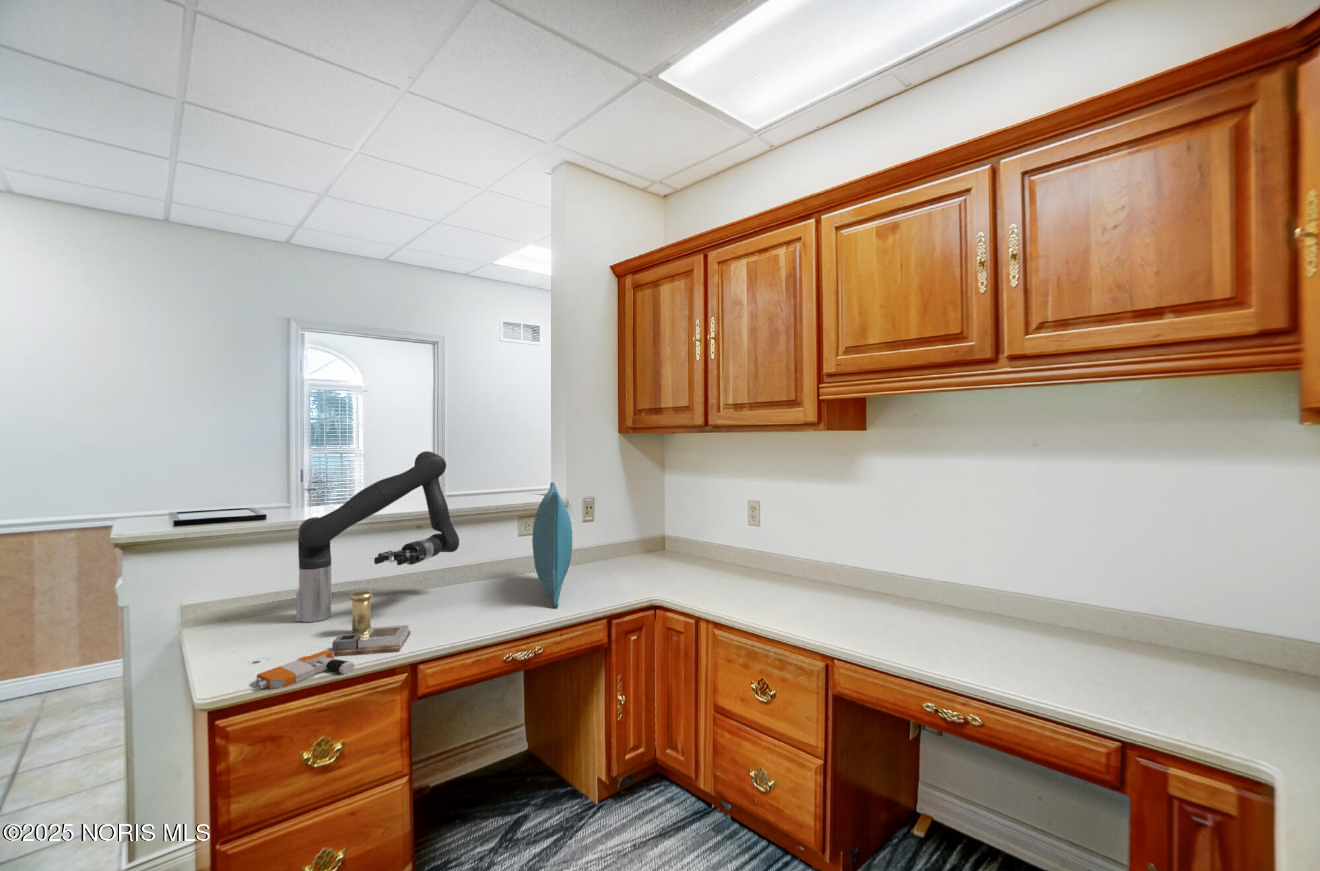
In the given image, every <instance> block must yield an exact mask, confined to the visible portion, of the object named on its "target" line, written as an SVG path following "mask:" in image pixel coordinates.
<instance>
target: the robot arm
mask: <svg viewBox="0 0 1320 871" xmlns="http://www.w3.org/2000/svg"><path fill="white" fill-rule="evenodd" d="M415 457H416V458H415V459H414V466H413V467H411V468H410V469H408V470H406V471H403V472H402V473H399V474H396V475H392V476H389V477H386V478H382V479H380V480H378V481H376V482H374V483H373V484H370V485H368V486H367V487H365V488H363V489H362V490H360V491H358V492H357V493H356V494H354V495H353V496H352V497H351V498H350V499H348V500H346V502H344V503H343V505H341V506H339V507H338V508H336V509H334V510H332V511H331V512H329V513H327V514H325V515H323V516H320V517H317V516H316V517H309V518H308V519H306V520H304V521H303V522H302V523H301V525H300V526H299V528H298V534H297V535H298V538H297V539H298V542H297V543H298V544H297V546H298V547H297V548H298V549H297V550H298V553H297V554H298V555H297V556H298V591H296V597H295V598H296V602H295V603H296V605H295V606H296V607H295V609H296V612H295V615H296V616H295V619H296V620H295V621H296V622H302V623H315V622H321V621H324V620H327V619H330V618H331V617H332V554H331V553H332V552H331V541H332V540H333V539H335V538H336V537H337V536H338V535H340V534H341V533H343V532H344V531H346V530H347V529H348V528H350V527H352V526H354V525H355V524H357V523H359V522H361V521H364V520H365V519H367V518H369V517H371V516H373V515H374V514H377V513H378V512H380V511H382V510H384V509H385V508H386V507H389V506H390V505H392V504H393V503H395V502H396V501H398V500H399V499H401V498H403V497H404V496H406V495H408V494H410V493H411V492H412V491H414V490H415V489H418V488H420V487H422V489H423V492H424V493H423V494H424V497H425V500H426V506H427V512H428V516H429V521H430V526H431V529H432V530H434V531H436V532H439V533H435V534H432V535H430V536H429V537H427V538H424V539H418V540H415V541H412V542H409V543H406V544H404V545H403V546H402V548H401V549H398V550H395V551H394V550H387V551H384V552H380V553H378V554H377V556H376V557H374V558H373V559H374V560H373V561H374V562H373V563H374V565H378V564H382V563H387V562H388V563H395V562H396V565H397V566H401V565H405V564H406V565H408V566H409V565H410V566H411V565H415V564H418V563H421V562H423V561H426V560H428V559H430V558H433V557H436V556H438V555H439V554H440V553H454V552H456V551H457V550H458V548H459V546H460V538H459V535H458V533H457V531H456V528H455V527H454V525H453V523H452V521H451V516H450V512H449V511H450V510H449V507H448V504H447V501H446V497H445V495H444V494H443V491H442V487H441V484H440V480H439V478H440V477H441V476H443V474H444V473H445V471H446V468H447V462H446V460H445V459H444V458H443V457H442V456H441V455H439V454H437V453H435V452H432V451H429V450H427V451H422V452H420V453H419V454H417V456H415ZM392 558H393V559H392ZM330 616H331V617H330Z"/></svg>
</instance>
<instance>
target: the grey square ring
mask: <svg viewBox="0 0 1320 871" xmlns="http://www.w3.org/2000/svg"><path fill="white" fill-rule="evenodd" d="M362 635H363V633H357V634H352V633H344V634H343V633H342V634H338V636H337V637H336V638H335V639H334V640H333V641H332V642H331V643H332V648H331V650H332V651H340V650H354V649H357V648H358V640H359V639H360V638H361V636H362Z"/></svg>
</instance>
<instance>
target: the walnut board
mask: <svg viewBox="0 0 1320 871" xmlns="http://www.w3.org/2000/svg"><path fill="white" fill-rule="evenodd" d="M410 635H411V630H409V633H408V635H407V636H406V638H405V640H404V641H403V643H402V644H401V646H396V647H382V648H368V649H358V648H357V649H354V650H340V651H333V653H334V657H344V656H358V655H369V653H373V654H385V653H399V652H400V651H401V649H402V648H403V646H404V644H406V641H407V640H408V638H409V636H410ZM330 651H332V649H331V650H330Z"/></svg>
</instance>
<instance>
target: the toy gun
mask: <svg viewBox="0 0 1320 871" xmlns="http://www.w3.org/2000/svg"><path fill="white" fill-rule="evenodd" d="M354 669H355V663H354V662H353V661H351V660H350V661H349V660H345V659H338V658H335V656H334V653H333V651H331V650H323V651H320V652H316V653H314V654H311V655H307V656H301V657H299V658H297V659H296V660H294V661H291V662H288V663H285V664H283V665H279V666H277V667H273V668H271V669H269V670H265V671H263V672H260V673H258V674H257V675H256V679H255V683H256V685H257V689H258V690H261V689H264V688H267V689H269V690H271V689H283V688H285V687H288V686H291V685H294V684H297V683H300V682H302V681H305V680H308V679H311V678H313V677H315V675H316V674H318V673H321V672H324V671H329V670H330V671H333V672H336V673H338V674H341V675H346V674H349V673H352V672H353V670H354Z"/></svg>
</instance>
